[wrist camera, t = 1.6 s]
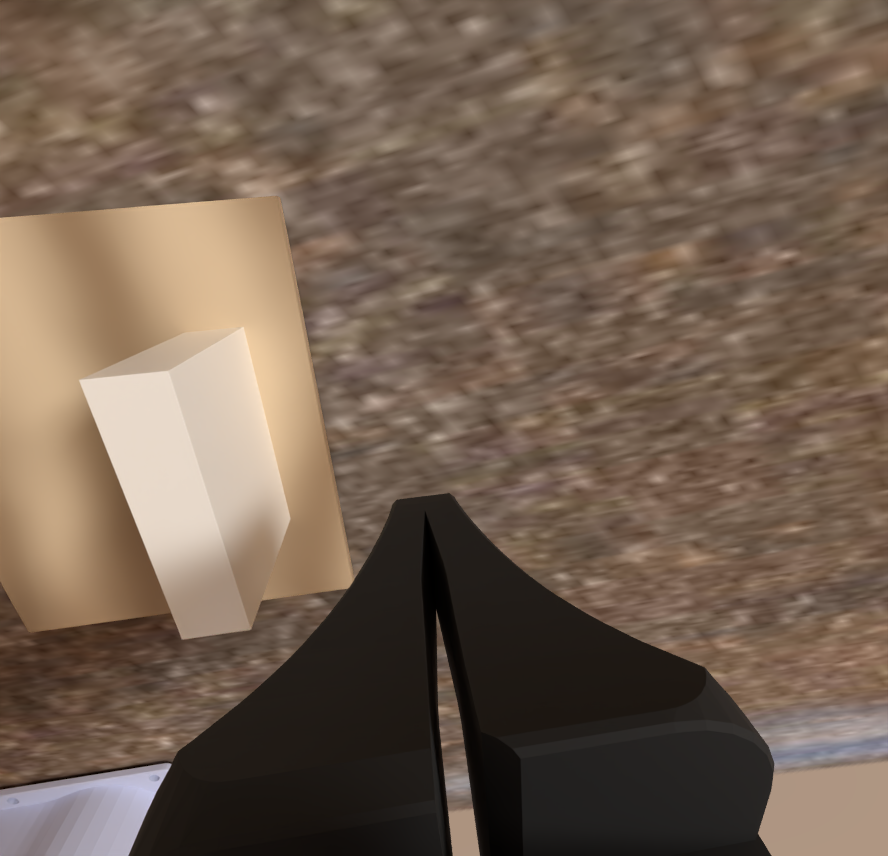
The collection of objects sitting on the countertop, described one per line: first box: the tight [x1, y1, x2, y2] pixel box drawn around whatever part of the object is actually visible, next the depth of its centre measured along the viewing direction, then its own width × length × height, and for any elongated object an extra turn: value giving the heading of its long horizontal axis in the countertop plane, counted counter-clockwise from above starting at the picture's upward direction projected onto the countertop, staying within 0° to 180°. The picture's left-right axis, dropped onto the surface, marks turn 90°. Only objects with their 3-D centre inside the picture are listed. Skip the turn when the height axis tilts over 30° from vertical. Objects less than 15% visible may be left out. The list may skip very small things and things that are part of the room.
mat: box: [0, 196, 354, 633], centre depth 18 cm, size 14×16×1 cm
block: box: [79, 327, 291, 640], centre depth 15 cm, size 2×8×6 cm, turn 5°
